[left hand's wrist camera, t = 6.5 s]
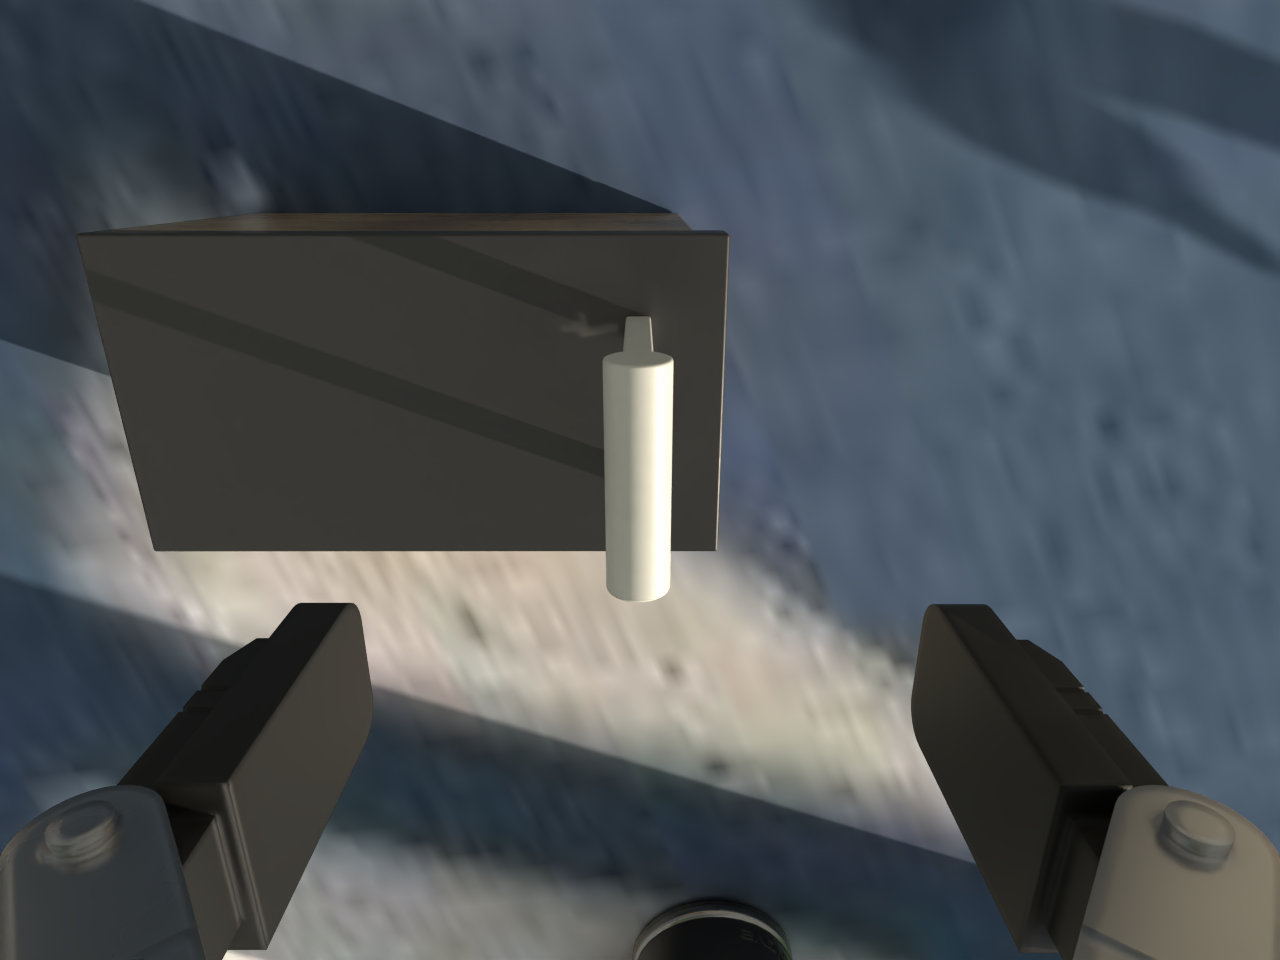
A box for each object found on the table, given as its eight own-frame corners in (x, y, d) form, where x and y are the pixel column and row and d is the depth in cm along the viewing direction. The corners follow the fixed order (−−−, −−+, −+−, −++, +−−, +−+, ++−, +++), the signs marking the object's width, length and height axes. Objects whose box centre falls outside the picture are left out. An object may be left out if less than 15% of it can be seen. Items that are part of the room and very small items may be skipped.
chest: (678, 213, 32) (693, 230, 23) (674, 439, 36) (686, 534, 26) (258, 212, 32) (104, 230, 23) (296, 440, 36) (176, 534, 26)
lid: (725, 230, 23) (768, 259, 15) (714, 534, 26) (744, 679, 19) (103, 230, 23) (-160, 259, 15) (175, 534, 26) (-10, 680, 19)
